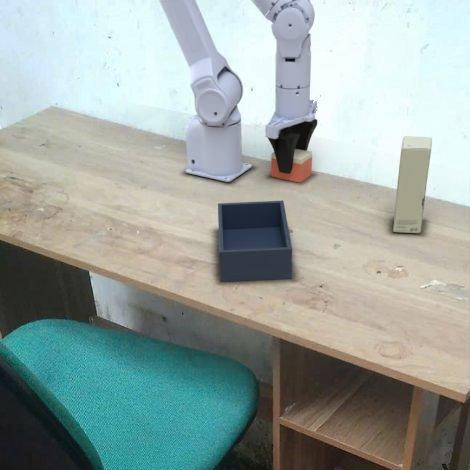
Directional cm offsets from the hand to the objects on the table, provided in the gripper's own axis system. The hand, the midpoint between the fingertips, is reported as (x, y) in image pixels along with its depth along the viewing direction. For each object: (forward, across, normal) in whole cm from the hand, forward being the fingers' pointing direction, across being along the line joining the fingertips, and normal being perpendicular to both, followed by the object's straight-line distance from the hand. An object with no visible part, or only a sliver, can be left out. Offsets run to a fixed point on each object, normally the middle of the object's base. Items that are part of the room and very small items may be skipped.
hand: (291, 167), depth 140 cm
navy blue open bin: (+1, -28, -10) cm, 30 cm away
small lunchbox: (+1, 0, 0) cm, 1 cm away
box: (+2, -9, -26) cm, 28 cm away
